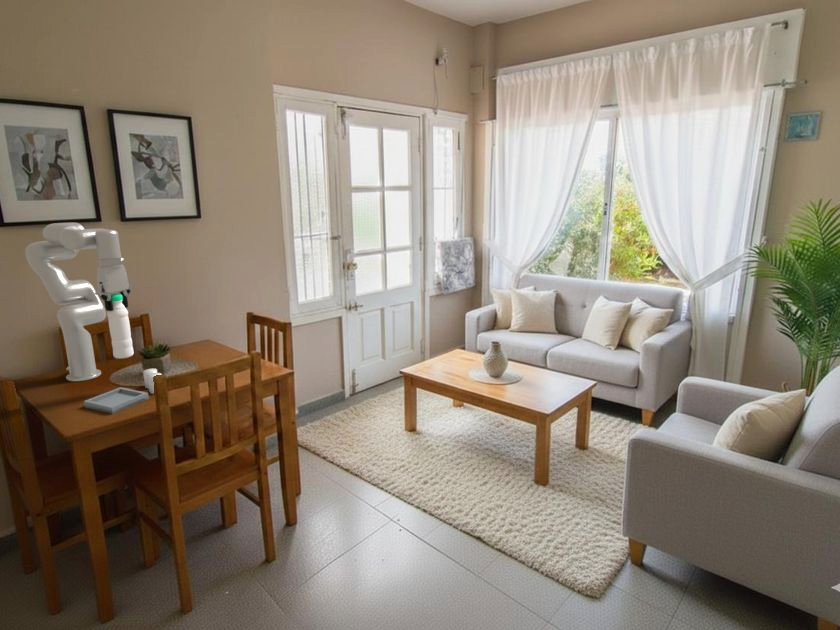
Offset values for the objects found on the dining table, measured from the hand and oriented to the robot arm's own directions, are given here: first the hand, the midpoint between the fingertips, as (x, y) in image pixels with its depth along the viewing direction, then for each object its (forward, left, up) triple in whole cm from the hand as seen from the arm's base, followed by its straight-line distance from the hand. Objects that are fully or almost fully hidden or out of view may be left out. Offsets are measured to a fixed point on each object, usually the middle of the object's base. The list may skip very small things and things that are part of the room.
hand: (117, 308), depth 199 cm
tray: (+9, -12, -33) cm, 36 cm away
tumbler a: (+13, +2, -33) cm, 36 cm away
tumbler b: (+7, +5, -33) cm, 35 cm away
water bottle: (0, 0, -20) cm, 20 cm away
